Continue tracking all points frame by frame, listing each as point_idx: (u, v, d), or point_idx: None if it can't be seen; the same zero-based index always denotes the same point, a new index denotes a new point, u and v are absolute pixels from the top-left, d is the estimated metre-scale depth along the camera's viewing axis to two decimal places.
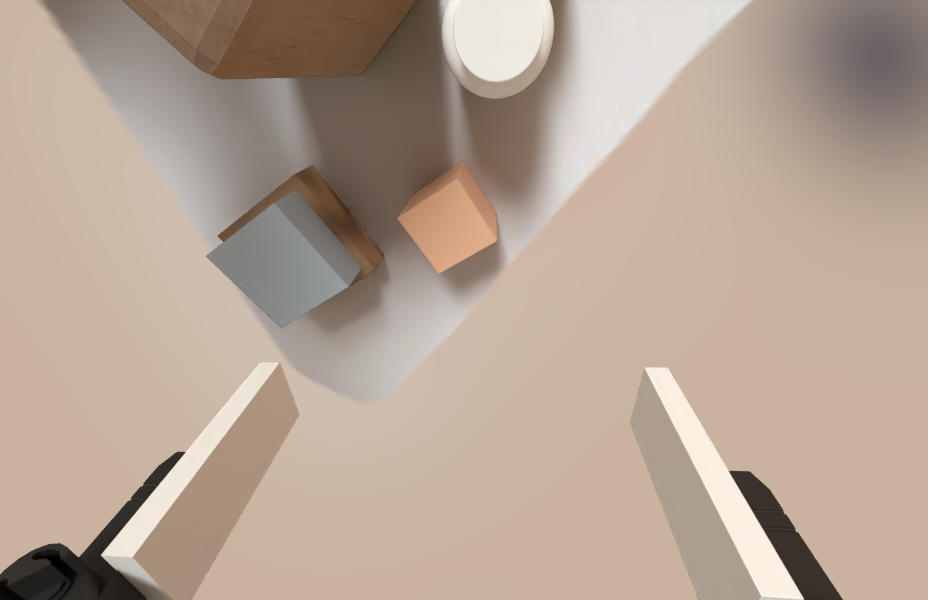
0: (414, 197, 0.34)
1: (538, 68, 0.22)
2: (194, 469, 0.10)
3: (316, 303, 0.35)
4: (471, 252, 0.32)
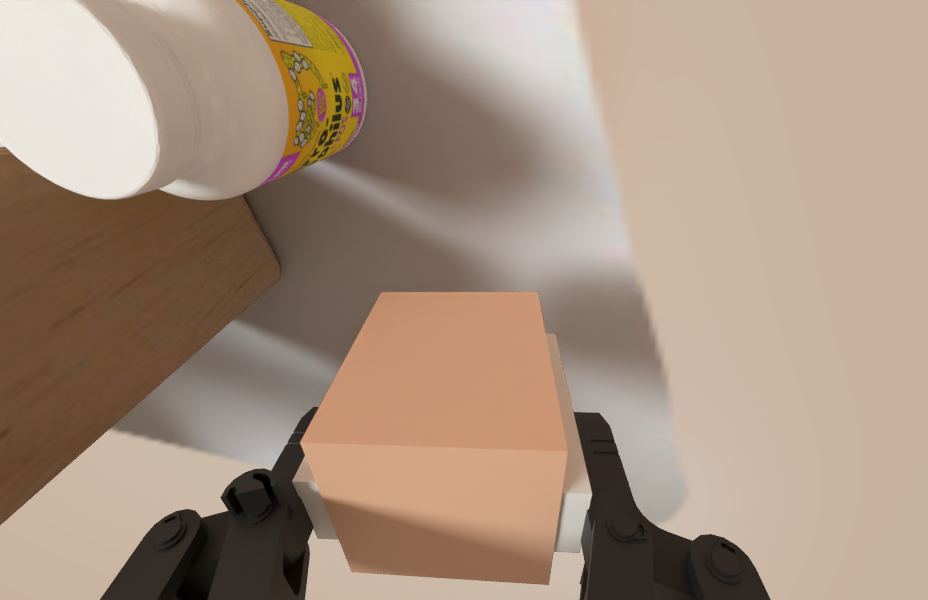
0: None
1: (230, 39, 0.10)
2: None
3: None
4: (549, 514, 0.09)
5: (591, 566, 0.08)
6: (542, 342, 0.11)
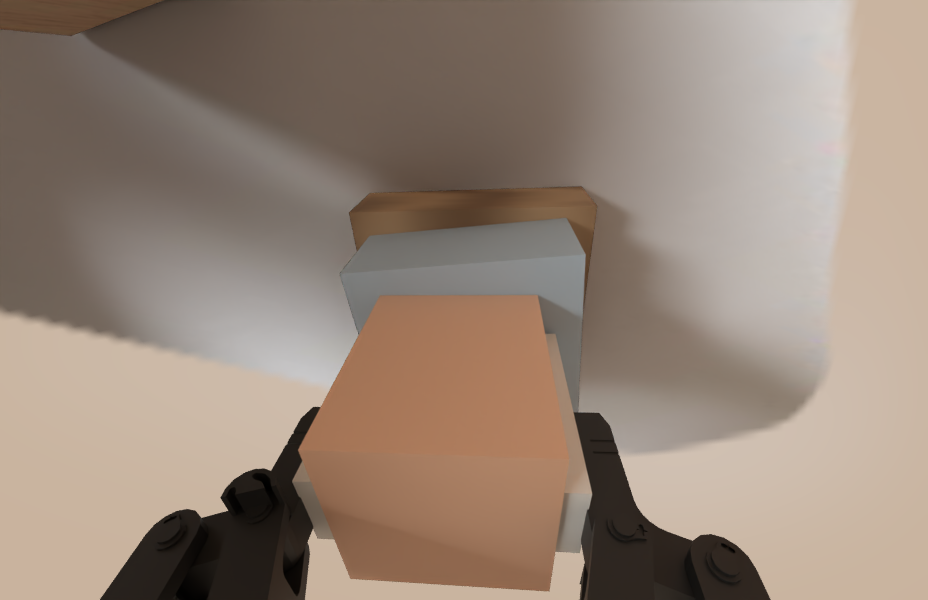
0: None
1: None
2: None
3: (575, 343, 0.15)
4: (550, 521, 0.09)
5: (591, 566, 0.08)
6: (542, 347, 0.11)
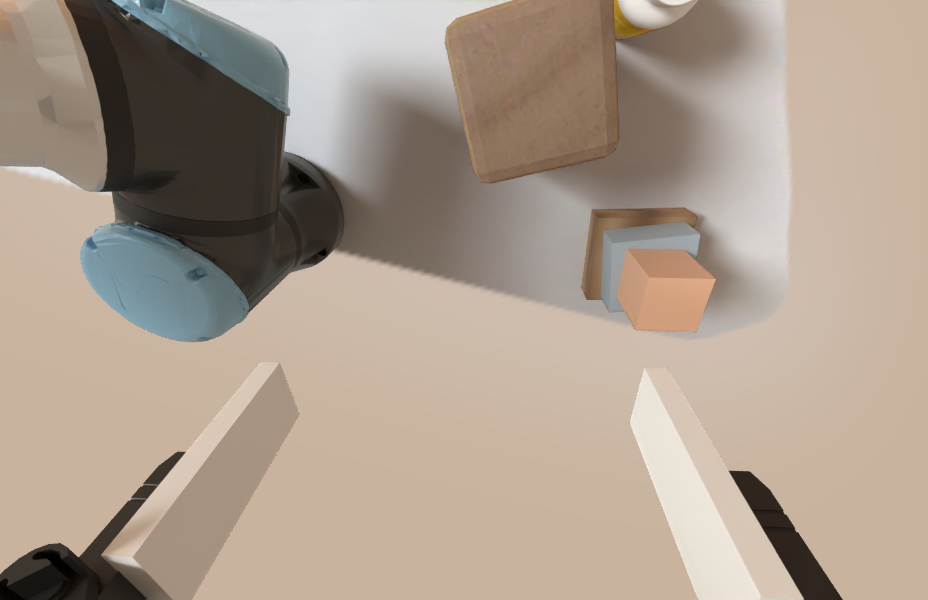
0: (623, 300, 0.42)
1: None
2: (194, 469, 0.10)
3: None
4: (705, 301, 0.36)
5: None
6: (695, 261, 0.38)
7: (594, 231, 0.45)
